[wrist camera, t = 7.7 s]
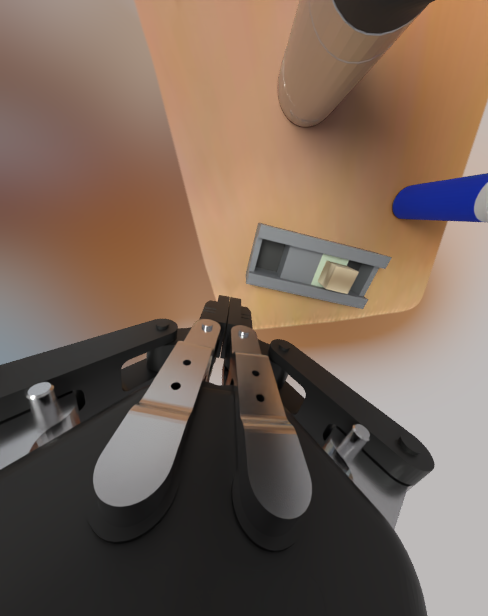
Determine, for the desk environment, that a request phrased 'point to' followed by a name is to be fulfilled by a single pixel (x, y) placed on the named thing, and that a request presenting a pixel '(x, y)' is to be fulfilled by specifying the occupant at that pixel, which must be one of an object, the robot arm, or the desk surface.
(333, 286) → the birch block
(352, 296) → the box
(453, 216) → the blue cylinder
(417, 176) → the desk surface
